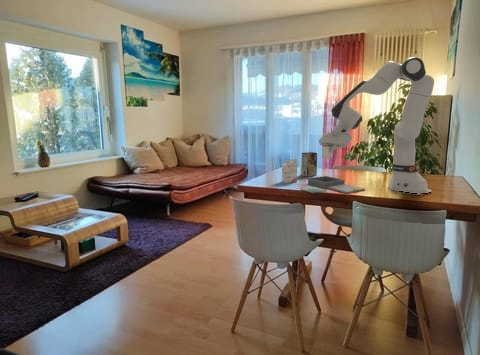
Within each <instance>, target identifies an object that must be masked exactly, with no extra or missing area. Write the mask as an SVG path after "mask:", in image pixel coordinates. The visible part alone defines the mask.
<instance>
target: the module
mask: <svg viewBox="0 0 480 355" xmlns="http://www.w3.org/2000/svg"><path fill="white" fill-rule="evenodd" d="M332 147H333V145H330V144H324V145H323V146H322V148H321V150H322V151H321V153H322V154H321V155H322V157H321V159H328V160H330V159H333V155H334V154H333V152H334V151H333V152H330V151H329V149H330V148H332Z"/></svg>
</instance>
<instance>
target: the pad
mask: <svg viewBox="0 0 480 355" xmlns="http://www.w3.org/2000/svg"><path fill="white" fill-rule="evenodd" d="M300 190H301V191H304V192H308V193H311V194H316V193H322V192H326V191H327V189H325V188H321V187H317V186H310V187H304V188H300Z"/></svg>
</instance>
